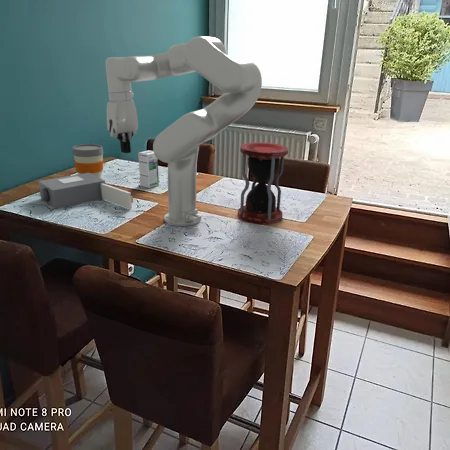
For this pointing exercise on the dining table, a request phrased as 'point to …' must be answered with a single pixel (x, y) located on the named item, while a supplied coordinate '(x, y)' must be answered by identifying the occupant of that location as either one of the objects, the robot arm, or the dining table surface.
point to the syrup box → (148, 169)
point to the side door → (116, 196)
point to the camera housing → (71, 190)
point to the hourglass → (262, 182)
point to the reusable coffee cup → (88, 159)
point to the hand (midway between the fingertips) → (126, 152)
